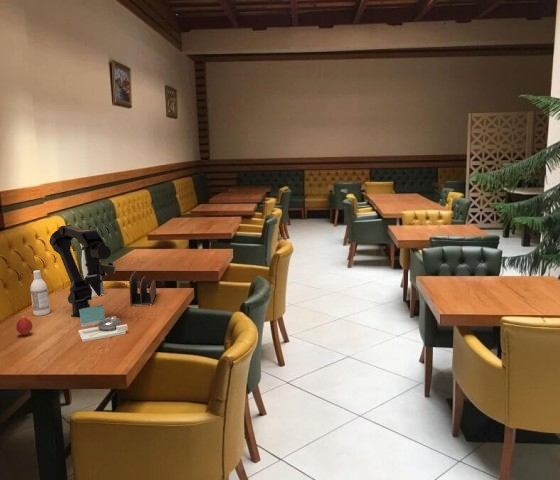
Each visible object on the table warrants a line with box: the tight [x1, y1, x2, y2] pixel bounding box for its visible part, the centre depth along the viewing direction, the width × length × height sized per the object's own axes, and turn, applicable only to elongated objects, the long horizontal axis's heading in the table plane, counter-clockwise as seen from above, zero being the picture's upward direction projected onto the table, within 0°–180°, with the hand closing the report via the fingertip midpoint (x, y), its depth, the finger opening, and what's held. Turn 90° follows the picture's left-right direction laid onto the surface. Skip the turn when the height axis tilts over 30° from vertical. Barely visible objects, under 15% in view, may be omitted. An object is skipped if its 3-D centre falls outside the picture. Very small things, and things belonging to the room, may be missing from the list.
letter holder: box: [128, 270, 157, 307], centre depth 249 cm, size 10×20×14 cm, turn 7°
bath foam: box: [30, 269, 51, 317], centre depth 233 cm, size 7×7×20 cm
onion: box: [15, 315, 33, 336], centre depth 205 cm, size 6×6×8 cm
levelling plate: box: [77, 324, 129, 343], centre depth 205 cm, size 17×12×3 cm
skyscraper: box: [79, 243, 105, 297], centre depth 260 cm, size 8×8×28 cm
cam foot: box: [79, 304, 122, 330], centre depth 205 cm, size 15×9×9 cm, turn 119°
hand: (99, 295), depth 218 cm, fingers closed
